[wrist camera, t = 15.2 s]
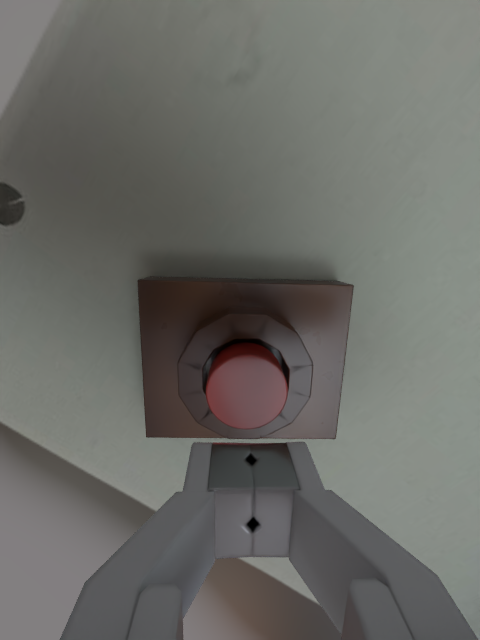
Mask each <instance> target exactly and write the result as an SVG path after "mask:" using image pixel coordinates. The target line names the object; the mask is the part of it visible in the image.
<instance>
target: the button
mask: <svg viewBox="0 0 480 640" xmlns="http://www.w3.org/2000/svg"><path fill="white" fill-rule="evenodd" d="M287 395H288V386H287V381H286V378H285V376H284V373H283V371H282V369H281V366H280V364H279V362H278V360H277V358H276V357H275V356H274V354H273V353H272V352H270V351H269V350H268V349H266V348H265V347H263V346H261V345H258V344H255V343H247V342H245V343H237V344H233V345H231V346H228V347H227V348H225V349H223V350H222V351H221V352H220V353H219V354H218V355H217V356H216V357H215V359H214V360H213V362H212V364H211V366H210V370H209V375H208V380H207V385H206V400H207V403H208V406H209V408H210V410H211V411H212V413H213V414H214V415H215V416H216V417H217V419H219V420H220V421H221V422H223V423H224V424H226V425H228V426H230V427H233V428H237V429H255V428H259V427H262V426H264V425H266V424H268V423H270V422H271V421H273V420H274V419H275V418H276V417H277V416H278V415H279V414H280V413H281V411H282V409H283V408H284V406H285V403H286V400H287Z"/></svg>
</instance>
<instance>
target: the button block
mask: <svg viewBox="0 0 480 640" xmlns="http://www.w3.org/2000/svg"><path fill="white" fill-rule="evenodd" d="M353 287H354V286H353V285H351V284H347V283H344V282H340V281H317V280H276V279H236V278H195V277H154V276H150V277H147V278H143V279H139V280H138V297H139V315H140V333H141V351H142V369H143V387H144V406H145V424H146V437H169V438H228V439H260V438H288V439H336V431H337V423H338V414H339V406H340V397H341V389H342V380H343V372H344V363H345V355H346V346H347V338H348V329H349V321H350V312H351V304H352V295H353ZM245 342H247V343H255V344H258V345H261V346H263V347H265V348H266V349H268V350H269V351H270V352H272V353H273V354H274V356H275V357H276V358H277V360H278V362H279V364H280V366H281V369H282V371H283V373H284V376H285V378H286V381H287V386H288V395H287V400H286V403H285V406H284V408H283V409H282V411H281V413H280V414H279V415H278V416H277V417H276V418H275V419H274V420H273V421H271V422H270V423H268V424H266V425H264V426H262V427H259V428H255V429H237V428H233V427H230V426H228V425H226V424H224V423H223V422H221V421H220V420H219V419H217V417H216V416H215V415H214V414H213V413H212V411H211V410H210V408H209V406H208V403H207V400H206V385H207V380H208V375H209V370H210V366H211V364H212V362H213V360H214V359H215V357H216V356H217V355H218V354H219V353H220V352H221V351H222V350H223V349H225V348H227V347H228V346H231V345H233V344H237V343H245Z"/></svg>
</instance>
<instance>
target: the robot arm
mask: <svg viewBox="0 0 480 640" xmlns="http://www.w3.org/2000/svg"><path fill="white" fill-rule="evenodd" d="M239 557H289V560H290V562H291V563H292V565H293V566H294V567H295V569H296V570H297V572H298V573H299V575H300V576H301V577H302V579H303V580H304V582H305V583H306V585H307V586H308V588H309V589H310V590H311V592H312V593H313V595H314V596H315V598H316V599H317V601H318V602H319V603H320V605H321V606H322V608H323V609H324V611H325V612H326V614H327V615H328V616H329V618H330V619H331V621H332V622H333V624H334V625H335V627H336V628H337V629H338V631H339V632H340V634H341V635H342V636H341V640H478V638H477V637H476V635H475V634H474V632H473V631H472V629H471V628H470V626H469V624H468V623H467V621H466V620H465V618H464V617H463V615H462V613H461V612H460V610H459V609H458V607H457V606H456V604H455V602H454V601H453V599H452V598H451V596H450V595H449V593H448V591H447V590H446V588H445V587H444V585H443V584H442V582H441V580H440V579H439V577H438V576H437V575H436V574H435V573H434V572H433V571H431V570H430V569H429V568H428V567H426V566H425V565H424V564H423V563H421V562H420V561H419V560H418V559H416V558H415V557H414V556H413V555H411V554H410V553H409V552H408V551H406V550H405V549H404V548H403V547H401V546H400V545H399V544H398V543H396V542H395V541H394V540H393V539H391V538H390V537H389V536H388V535H386V534H385V533H384V532H383V531H381V530H380V529H379V528H378V527H376V526H375V525H374V524H373V523H371V522H370V521H369V520H368V519H366V518H365V517H364V516H363V515H361V514H360V513H359V512H358V511H357V510H355V509H354V508H353V507H352V506H350V505H349V504H348V503H347V502H345V501H344V500H343V499H342V498H340V497H339V496H338V495H337V494H335V493H334V492H333V491H332V490H325V489H324V486H323V484H322V481H321V479H320V477H319V474H318V472H317V469H316V467H315V464H314V462H313V459H312V457H311V454H310V452H309V449H308V447H307V444H306V443H305V442H286V443H213V444H212V443H193V445H192V447H191V452H190V457H189V462H188V467H187V472H186V477H185V482H184V487H183V492H176V493H175V494H174V495H173V496H172V497H171V498H170V499H169V500H168V501H167V502H166V503H165V504H164V505H163V506H162V507H161V508H160V509H159V510H158V511H157V512H156V513H155V514H154V515H153V516H152V517H151V518H150V519H149V520H148V521H147V522H146V523H145V524H144V525H143V526H142V527H141V528H140V529H139V530H138V531H137V532H135V534H133V536H132V537H130V538H129V539H128V540H127V541H126V542H125V543H124V544H123V545H122V546H121V547H120V548H119V549H118V550H117V551H116V552H115V553H114V554H113V555H112V556H111V557H110V558H109V560H107V561H106V562H105V563H104V564H103V565H102V566H101V567H100V568H99V569H98V570H97V571H96V572H95V573H94V574H93V575H92V576H91V577H90V578H89V579H88V580H87V581H86V582H85V584H84V586H83V588H82V591H81V593H80V595H79V597H78V599H77V602H76V604H75V606H74V609H73V611H72V613H71V615H70V618H69V620H68V622H67V625H66V627H65V629H64V631H63V634H62V636H61V638H60V640H183V618H184V616H185V614H186V613H187V611H188V609H189V607H190V605H191V604H192V601H193V600H194V598H195V596H196V594H197V593H198V591H199V589H200V587H201V585H202V584H203V582H204V580H205V578H206V576H207V575H208V573H209V571H210V569H211V567H212V565H213V564H214V562H215V559H219V558H239Z"/></svg>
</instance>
